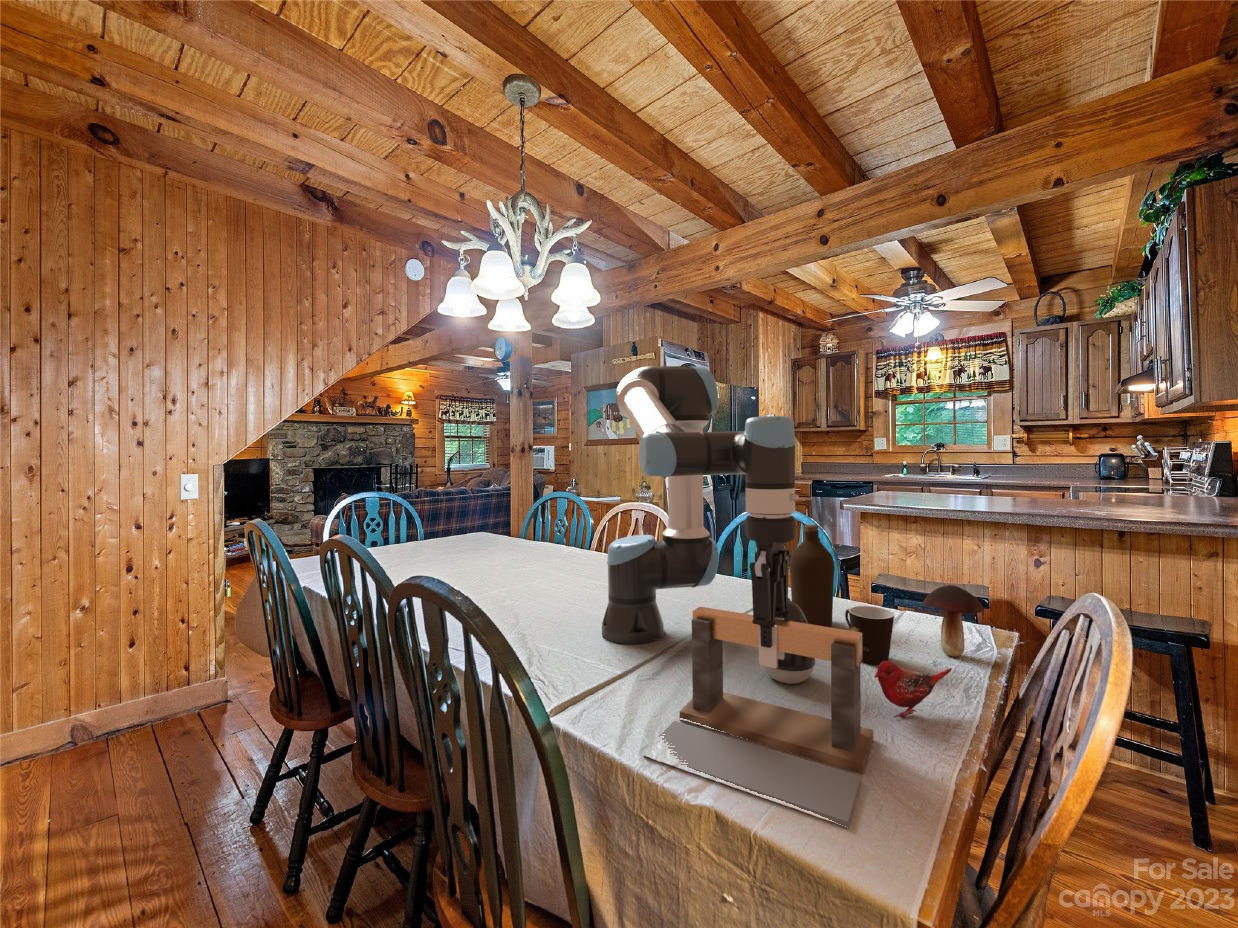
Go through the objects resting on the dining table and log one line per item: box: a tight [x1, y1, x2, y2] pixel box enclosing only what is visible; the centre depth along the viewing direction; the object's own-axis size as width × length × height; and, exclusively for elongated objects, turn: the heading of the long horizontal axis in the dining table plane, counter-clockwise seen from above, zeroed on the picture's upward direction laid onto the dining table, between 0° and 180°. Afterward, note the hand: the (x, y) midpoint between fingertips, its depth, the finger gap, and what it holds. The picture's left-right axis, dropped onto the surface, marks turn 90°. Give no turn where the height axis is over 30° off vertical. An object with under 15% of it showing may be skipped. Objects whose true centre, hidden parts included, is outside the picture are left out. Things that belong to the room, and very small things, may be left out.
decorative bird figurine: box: [874, 660, 953, 718], centre depth 88 cm, size 3×18×10 cm, turn 111°
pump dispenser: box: [763, 597, 817, 685], centre depth 102 cm, size 10×10×15 cm
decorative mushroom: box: [922, 584, 985, 658], centre depth 111 cm, size 11×11×15 cm
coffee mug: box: [844, 605, 895, 667], centre depth 112 cm, size 12×9×10 cm
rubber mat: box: [658, 720, 862, 828], centre depth 74 cm, size 28×10×1 cm, turn 57°
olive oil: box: [788, 523, 836, 628], centre depth 132 cm, size 11×11×25 cm
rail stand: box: [679, 618, 874, 775], centre depth 84 cm, size 28×10×16 cm, turn 57°
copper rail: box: [692, 606, 862, 667], centre depth 84 cm, size 26×3×4 cm, turn 57°
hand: (771, 661), depth 84 cm, fingers closed on copper rail, 3 cm apart
